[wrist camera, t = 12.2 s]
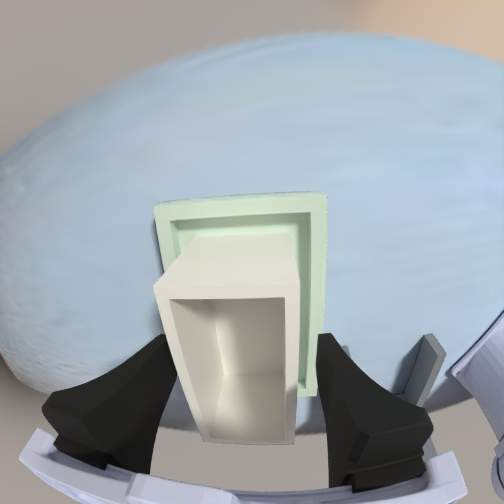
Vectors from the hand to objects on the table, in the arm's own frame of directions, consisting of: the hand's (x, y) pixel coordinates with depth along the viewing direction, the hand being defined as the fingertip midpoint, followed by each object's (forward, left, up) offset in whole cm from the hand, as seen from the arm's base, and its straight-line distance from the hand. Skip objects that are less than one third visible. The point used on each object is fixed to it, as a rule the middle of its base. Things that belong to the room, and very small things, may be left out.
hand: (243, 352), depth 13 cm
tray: (0, 0, -4) cm, 4 cm away
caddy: (0, 0, -4) cm, 4 cm away
